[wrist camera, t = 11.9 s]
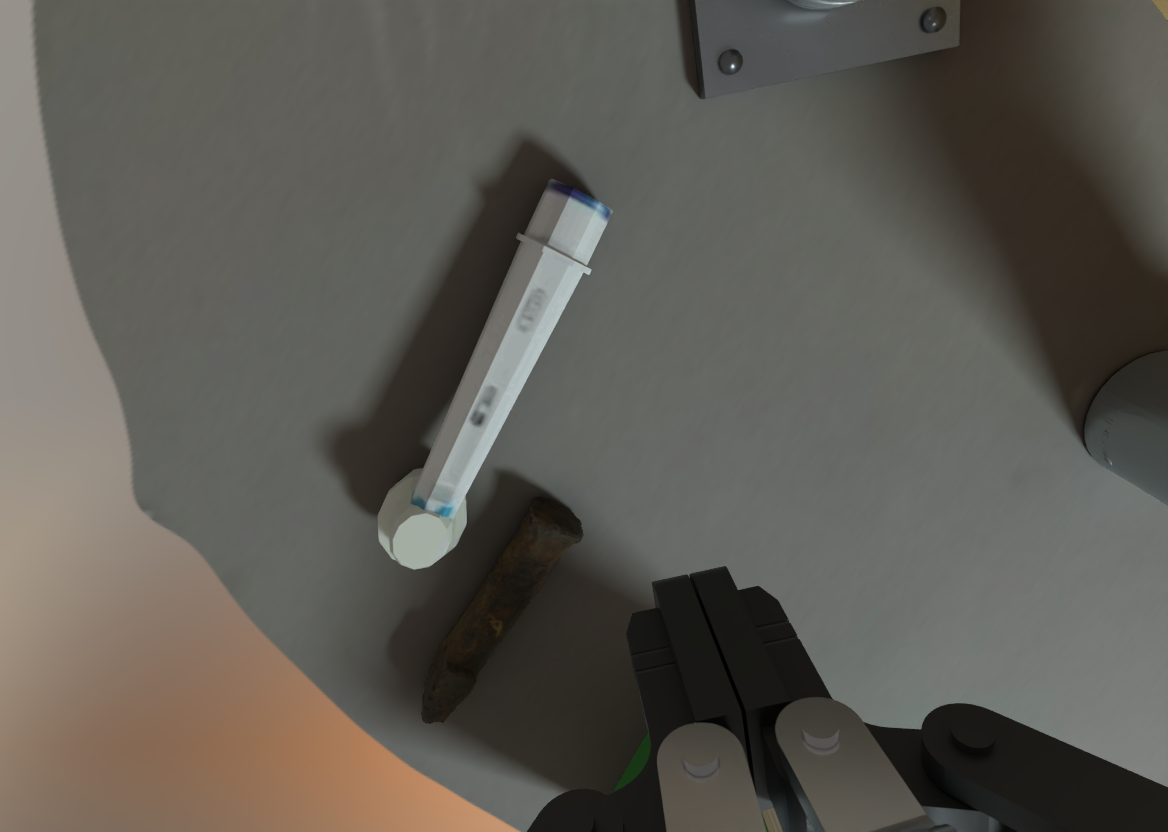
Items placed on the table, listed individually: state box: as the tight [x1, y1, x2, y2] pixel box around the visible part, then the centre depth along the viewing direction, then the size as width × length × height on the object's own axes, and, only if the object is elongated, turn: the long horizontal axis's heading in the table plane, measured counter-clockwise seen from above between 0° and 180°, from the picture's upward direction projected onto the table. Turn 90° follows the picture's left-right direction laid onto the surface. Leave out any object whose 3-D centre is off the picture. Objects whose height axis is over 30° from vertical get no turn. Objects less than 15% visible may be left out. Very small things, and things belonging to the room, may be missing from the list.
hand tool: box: [421, 497, 583, 723], centre depth 49 cm, size 19×4×5 cm, turn 145°
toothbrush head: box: [377, 179, 613, 570], centre depth 43 cm, size 5×7×25 cm
